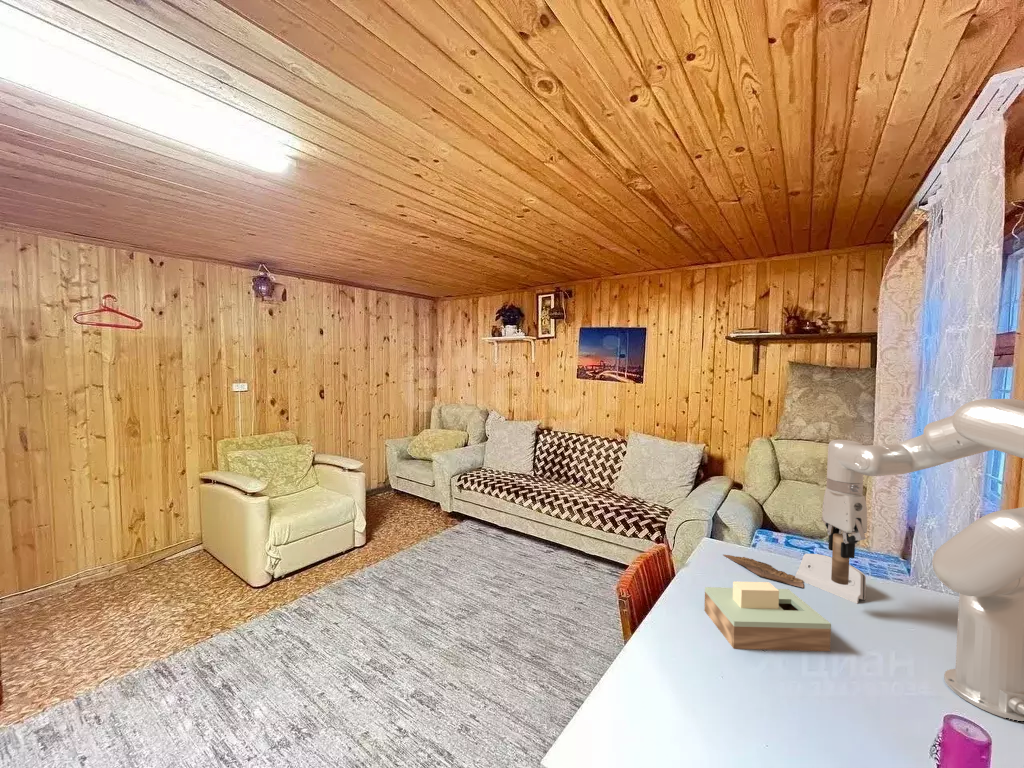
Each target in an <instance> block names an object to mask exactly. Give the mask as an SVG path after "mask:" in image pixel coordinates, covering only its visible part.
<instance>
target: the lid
mask: <svg viewBox="0 0 1024 768" xmlns="http://www.w3.org/2000/svg"><path fill="white" fill-rule="evenodd" d="M705 592H706V593H707V595H708V596H709V597H710V598H711V599H712V601H713V602H714V603H715V604H716V605H717V607H718V608H719V609H720V610H721V611H722V613H723V614H724V615H725V616H726V617H727V618H728V620H729V621H730V622H731V623H732V624H733V626H735V627H776V628H816V629H831V630H832V623H831V622H829V621H828V620H827V619H826V618H825V617H823V615H821V614H820V613H819V612H818V611H816V610H815V609H813V608H812V607H811V606H810V605H808V604H807V603H806V601H803V599H801V597H799V596H797V595H796V594H795V593H794V592H793V591H792V590H790V589H789V588H776V587H775V586H774V585H773V584H772V583H771V582H768V581H767V582H766V581H765V582H764V581H733V582H732V587H714V586H713V587H712V586H710V587H708V586H707V587H706V586H705V587H704V593H705ZM779 604H792V605H793V606H794V607H795V608H796V609H798V610H799V611H794V610H783V609H782V608H781V607H780V606H779Z"/></svg>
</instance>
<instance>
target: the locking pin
mask: <svg viewBox="0 0 1024 768" xmlns="http://www.w3.org/2000/svg"><path fill="white" fill-rule="evenodd" d="M848 537H850V536H849V535H848ZM841 542H843V533H841V534H837V533H835V534H833V549H832V551H831V552H832V554H831V555H832V556H831V557H832V574H831V580H832V581H834V582H836V583H838V584H842V585H848V581H849V564H850V558H843V557H841Z"/></svg>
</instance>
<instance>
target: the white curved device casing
mask: <svg viewBox="0 0 1024 768" xmlns="http://www.w3.org/2000/svg"><path fill="white" fill-rule="evenodd" d="M831 574H832V556H829V555H824V554H820V553H818V554H817V553H804V555H803V557H802V559H801V562H800V564H799V567H798V569H797V571H796V573H795V575H794V576H795V578H799V579H801V580H803V583H804V584H807V585H810V586H812V587H815V588H817V589H819V590H822V591H824V592H827V593H829V594H832V595H833V596H834V595H835V596H837V597H840V598H842V599H844V600H847V601H850V602H851V603H854V604H859V600H862V601H863V600H864V601H865V600H866V577H867V576H866V575H865V574H864V572H863V571H861V570H859V569H858V568H856V567H855V566H853V565H851V564H850V563H849V581H848V585H842V584H838V583H836V582H834V581H832V580H831Z"/></svg>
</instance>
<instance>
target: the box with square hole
mask: <svg viewBox="0 0 1024 768" xmlns="http://www.w3.org/2000/svg"><path fill="white" fill-rule="evenodd" d="M779 606H780V607H781V608H782V609H783V610H794V611H799V610H798V609H796V608H795V607H794V606H793V605H792V604H779ZM703 611H704V612H705V613H706V615H707V616H708V617H709V619H710V620H711V622H712V623H713V624H714V625H715V627H716V628H717V629H718V630H719V632H720V634H721V635H722V636H723V637H724V638H725V640H727V642H728V644H729V645H730V646H731V648H732V649H733V650H735V649H738V650H764V651H766V650H767V651H768V650H769V651H771V650H772V651H773V650H774V651H807V652H808V651H809V652H810V651H811V652H814V651H815V652H831V633H832V628H831V629H816V628H776V627H735V626H733V624H732V623H731V622H730V621H729V620H728V618H727V617H726V616H725V615H724V614H723V613H722V611H721V610H720V609H719V608H718V607H717V605H716V604H715V603H714V602H713V601H712V599H711V598H710V597H709V596H708V595H707V593H706V592H705V591H704V609H703Z"/></svg>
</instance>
